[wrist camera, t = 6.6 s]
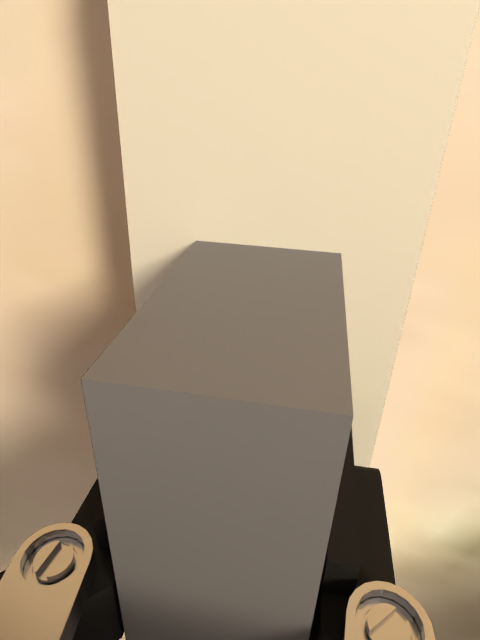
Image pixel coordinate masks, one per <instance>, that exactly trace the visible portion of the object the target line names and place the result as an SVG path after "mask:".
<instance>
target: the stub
mask: <svg viewBox="0 0 480 640" xmlns="http://www.w3.org/2000/svg"><path fill="white" fill-rule="evenodd" d="M107 2H108V13H109V24H110V35H111V46H112V57H113V68H114V79H115V90H116V101H117V112H118V123H119V134H120V145H121V156H122V167H123V177H124V188H125V199H126V210H127V221H128V232H129V243H130V254H131V265H132V276H133V287H134V298H135V309H136V313H135V314H134V316H133V317H132V318H131V319H130V320H129V322H128V323H127V324H126V325H125V326H124V328H123V329H122V330H121V331H120V332H119V334H118V335H117V336H116V337H115V338H114V340H113V341H112V342H111V343H110V344H109V346H108V347H107V348H106V349H105V350H104V351H103V353H102V354H101V355H100V356H99V357H98V359H97V360H96V361H95V362H94V363H93V365H92V366H91V367H90V368H89V369H88V371H87V372H86V373H85V374H84V375H83V377H82V378H81V382H82V388H83V394H84V400H85V405H86V411H87V417H88V423H89V429H90V434H91V440H92V446H93V452H94V458H95V463H96V469H97V475H98V481H99V487H100V492H101V498H102V504H103V510H104V516H105V522H106V527H107V533H108V539H109V545H110V551H111V556H112V562H113V568H114V574H115V580H116V585H117V591H118V597H119V603H120V609H121V614H122V620H123V626H124V632H125V638H126V640H309V636H310V631H311V626H312V621H313V616H314V611H315V606H316V601H317V596H318V591H319V586H320V581H321V576H322V571H323V566H324V561H325V556H326V551H327V546H328V541H329V536H330V531H331V526H332V521H333V516H334V511H335V506H336V501H337V496H338V491H339V486H340V481H341V476H342V471H343V466H344V461H345V456H346V451H347V446H348V441H349V436H350V431H351V426H352V438H353V453H354V465H356V466H362V467H369V466H370V462H371V458H372V454H373V449H374V445H375V441H376V437H377V433H378V428H379V424H380V420H381V416H382V412H383V408H384V403H385V399H386V395H387V391H388V387H389V382H390V378H391V374H392V370H393V366H394V362H395V357H396V353H397V349H398V345H399V341H400V336H401V332H402V328H403V324H404V320H405V316H406V311H407V307H408V303H409V299H410V295H411V290H412V286H413V282H414V278H415V274H416V269H417V265H418V261H419V257H420V253H421V249H422V244H423V240H424V236H425V232H426V228H427V223H428V219H429V215H430V211H431V207H432V203H433V198H434V194H435V190H436V186H437V182H438V177H439V173H440V169H441V165H442V161H443V157H444V152H445V148H446V144H447V140H448V136H449V131H450V127H451V123H452V119H453V115H454V110H455V106H456V102H457V98H458V94H459V90H460V85H461V81H462V77H463V73H464V69H465V64H466V60H467V56H468V52H469V48H470V44H471V39H472V35H473V31H474V27H475V23H476V18H477V14H478V10H479V6H480V0H107Z"/></svg>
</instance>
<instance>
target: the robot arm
mask: <svg viewBox="0 0 480 640" xmlns="http://www.w3.org/2000/svg"><path fill="white" fill-rule="evenodd" d="M123 633H124V626H123V620H122V614H121V609H120V603H119V597H118V591H117V585H116V580H115V574H114V568H113V562H112V556H111V551H110V545H109V539H108V533H107V527H106V522H105V516H104V510H103V504H102V498H101V492H100V487H99V481H98V478H97V480H96V482H95V483H94V485H93V487H92V488H91V490H90V492H89V494H88V495H87V497H86V499H85V500H84V502H83V504H82V505H81V507H80V509H79V511H78V512H77V514H76V516H75V517H74V519H73V521H72V523H56V524H53V525H49V526H46V527H44V528H42V529H40V530H39V531H37V532H35V533H33V534H32V535H31V536H30V537H29V538H28V539H26V540H25V541H24V542H23V543H22V545H21V546H20V548H19V549H18V550H17V552H16V553H15V555H14V557H13V559H12V560H11V562H10V564H9V566H8V568H7V569H6V570H5V571H3V572H1V573H0V640H119V639H121V638H122V636H123ZM309 640H435V635H434V631H433V627H432V623H431V621H430V619H429V617H428V615H427V613H426V611H425V609H424V608H423V607H422V606H421V604H420V603H419V602H418V601H417V600H416V599H415V597H414V596H412V595H411V594H410V593H408V592H407V591H405V590H404V589H403V588H401V587H399V586H396V585H395V578H394V570H393V563H392V555H391V548H390V540H389V533H388V525H387V517H386V510H385V502H384V495H383V487H382V480H381V474H380V471H379V469H375V468H369V467H362V466H356V465H354V453H353V438H352V426H351V431H350V436H349V441H348V446H347V451H346V456H345V461H344V466H343V471H342V476H341V481H340V486H339V491H338V496H337V501H336V506H335V511H334V516H333V521H332V526H331V531H330V536H329V541H328V546H327V551H326V556H325V561H324V566H323V571H322V576H321V581H320V586H319V591H318V596H317V601H316V606H315V611H314V616H313V621H312V626H311V631H310V636H309Z"/></svg>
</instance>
